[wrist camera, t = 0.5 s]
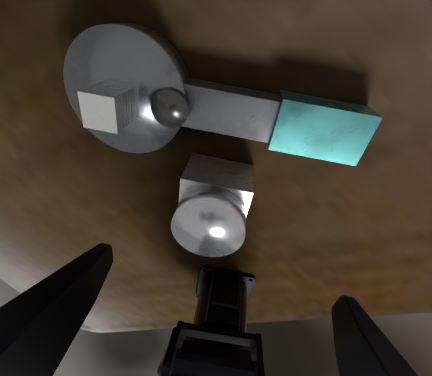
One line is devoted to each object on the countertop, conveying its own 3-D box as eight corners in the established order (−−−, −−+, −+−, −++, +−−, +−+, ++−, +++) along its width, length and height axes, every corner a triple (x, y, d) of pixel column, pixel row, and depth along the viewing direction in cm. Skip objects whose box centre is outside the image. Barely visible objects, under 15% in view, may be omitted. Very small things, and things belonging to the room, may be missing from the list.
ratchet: (386, 69, 15) (443, 91, 11) (332, 175, 20) (355, 223, 15) (75, 12, 16) (0, 11, 11) (94, 129, 20) (46, 162, 16)
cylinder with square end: (241, 211, 23) (237, 263, 18) (187, 201, 23) (169, 249, 19) (253, 164, 20) (253, 211, 15) (192, 153, 20) (172, 195, 16)
